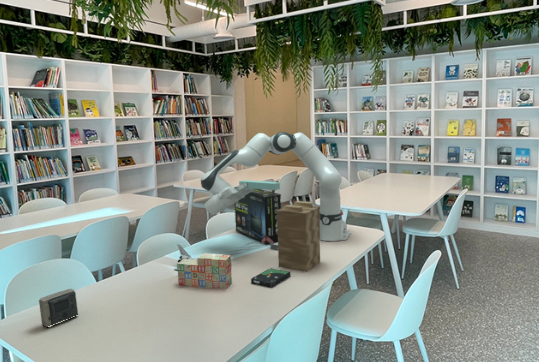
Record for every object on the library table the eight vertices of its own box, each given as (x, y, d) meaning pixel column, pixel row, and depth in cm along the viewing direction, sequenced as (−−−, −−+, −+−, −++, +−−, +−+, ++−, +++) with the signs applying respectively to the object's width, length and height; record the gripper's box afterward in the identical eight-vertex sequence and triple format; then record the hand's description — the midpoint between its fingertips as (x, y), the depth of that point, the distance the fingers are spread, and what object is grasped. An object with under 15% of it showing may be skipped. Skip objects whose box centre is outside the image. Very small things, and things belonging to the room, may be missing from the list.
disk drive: (272, 290, 172) (290, 277, 184) (271, 283, 171) (290, 271, 184) (250, 285, 177) (270, 273, 190) (250, 278, 177) (270, 267, 189)
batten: (244, 186, 211) (244, 180, 211) (279, 188, 201) (279, 182, 200) (239, 187, 208) (239, 181, 207) (275, 190, 197) (275, 183, 197)
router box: (234, 231, 259) (232, 187, 255) (250, 228, 265) (249, 185, 261) (266, 245, 229) (264, 195, 225) (283, 242, 235) (282, 193, 231)
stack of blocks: (178, 285, 178) (176, 256, 176) (185, 279, 184) (183, 251, 182) (226, 289, 172) (225, 259, 171) (232, 283, 178) (231, 254, 177)
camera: (72, 313, 155) (70, 286, 153) (80, 317, 151) (78, 290, 150) (39, 325, 146) (36, 297, 145) (47, 330, 142) (43, 301, 141)
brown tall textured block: (293, 257, 208) (291, 200, 204) (321, 262, 201) (320, 202, 197) (277, 266, 196) (276, 206, 192) (306, 272, 188) (305, 208, 184)
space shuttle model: (214, 277, 187) (213, 254, 186) (167, 270, 197) (166, 249, 196) (232, 265, 201) (231, 245, 200) (187, 260, 211) (186, 240, 210)
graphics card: (270, 244, 221) (296, 233, 241) (270, 250, 222) (296, 238, 242) (286, 247, 216) (312, 235, 236) (286, 254, 216) (312, 241, 236)
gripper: (214, 193, 206) (234, 180, 198) (239, 186, 223) (258, 174, 216) (219, 205, 205) (240, 192, 198) (244, 197, 222) (264, 185, 215)
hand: (249, 183), depth 207 cm, fingers closed on batten, 4 cm apart
